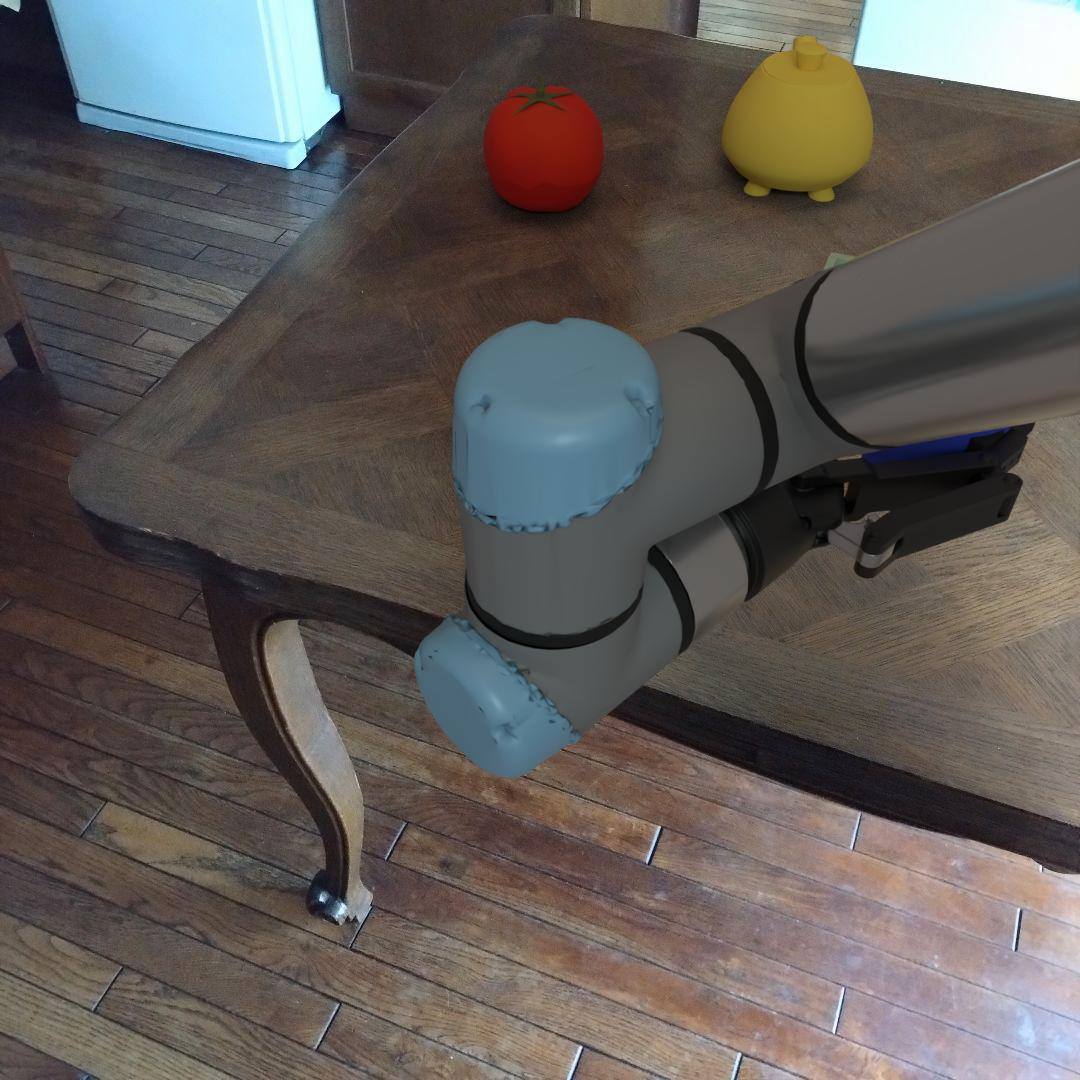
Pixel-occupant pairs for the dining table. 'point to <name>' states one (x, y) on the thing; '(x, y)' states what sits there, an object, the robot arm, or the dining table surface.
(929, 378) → the robot arm
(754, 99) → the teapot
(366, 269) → the dining table surface
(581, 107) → the tomato
